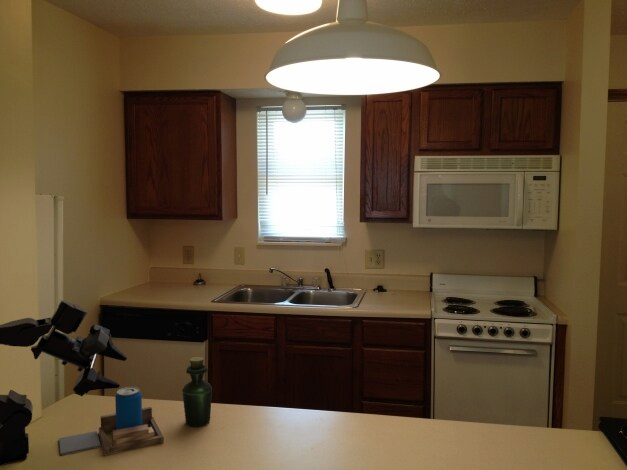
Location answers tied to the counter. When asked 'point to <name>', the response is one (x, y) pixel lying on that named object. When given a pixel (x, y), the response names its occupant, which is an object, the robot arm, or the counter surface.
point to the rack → (110, 424)
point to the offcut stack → (131, 434)
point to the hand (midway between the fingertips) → (122, 372)
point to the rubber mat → (79, 442)
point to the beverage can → (128, 407)
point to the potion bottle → (197, 395)
